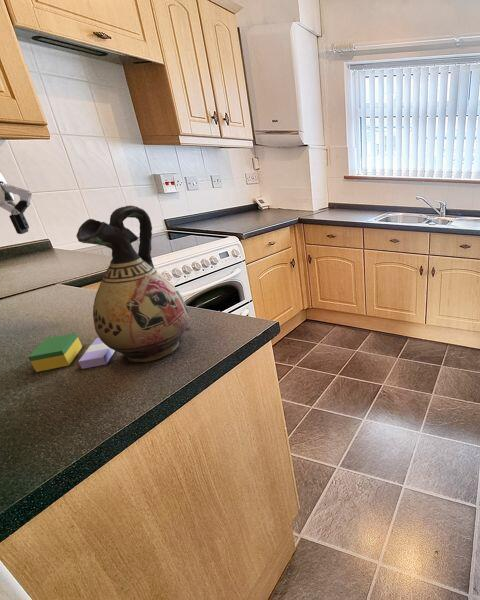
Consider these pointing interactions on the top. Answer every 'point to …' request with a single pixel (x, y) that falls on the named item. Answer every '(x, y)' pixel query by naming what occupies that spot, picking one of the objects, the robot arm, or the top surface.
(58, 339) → the sponge
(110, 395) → the top surface
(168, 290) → the ceramic jug
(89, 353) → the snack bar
